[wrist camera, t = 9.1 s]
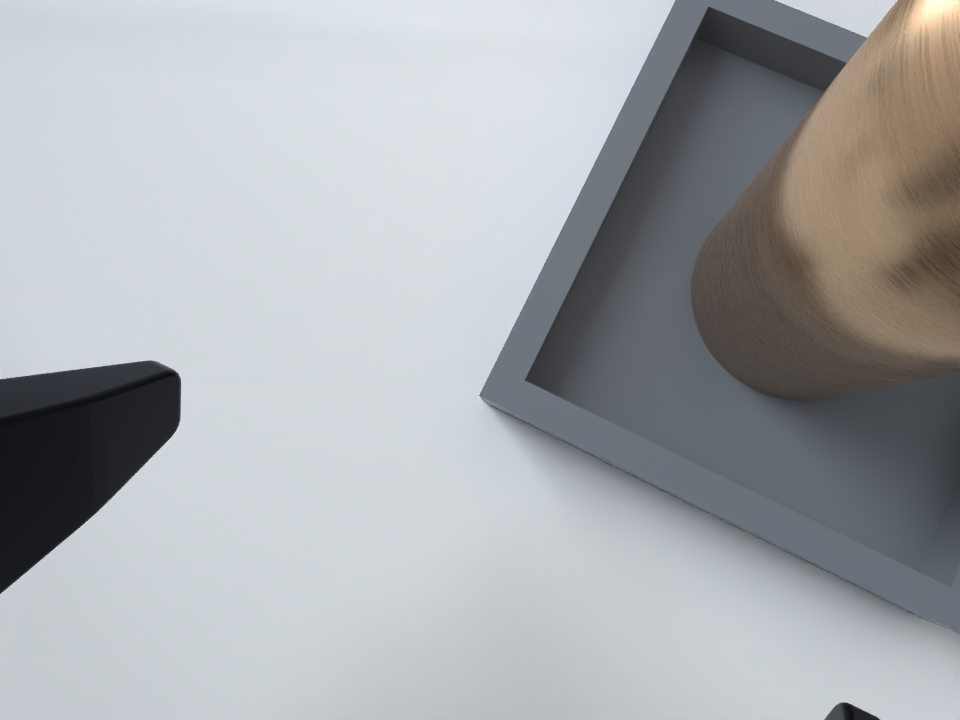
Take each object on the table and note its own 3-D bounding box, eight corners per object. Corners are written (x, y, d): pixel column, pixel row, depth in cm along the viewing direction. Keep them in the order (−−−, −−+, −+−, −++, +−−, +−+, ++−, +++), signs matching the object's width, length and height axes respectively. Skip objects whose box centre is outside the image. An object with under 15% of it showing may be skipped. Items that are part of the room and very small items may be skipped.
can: (762, 440, 18) (1335, 400, 5) (651, 255, 19) (910, -176, 6) (953, 335, 18) (1995, 38, 5) (834, 155, 19) (1483, -489, 6)
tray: (922, 618, 18) (971, 638, 16) (483, 401, 19) (479, 395, 17) (1103, 191, 19) (1170, 160, 17) (675, 14, 20) (692, -33, 18)
